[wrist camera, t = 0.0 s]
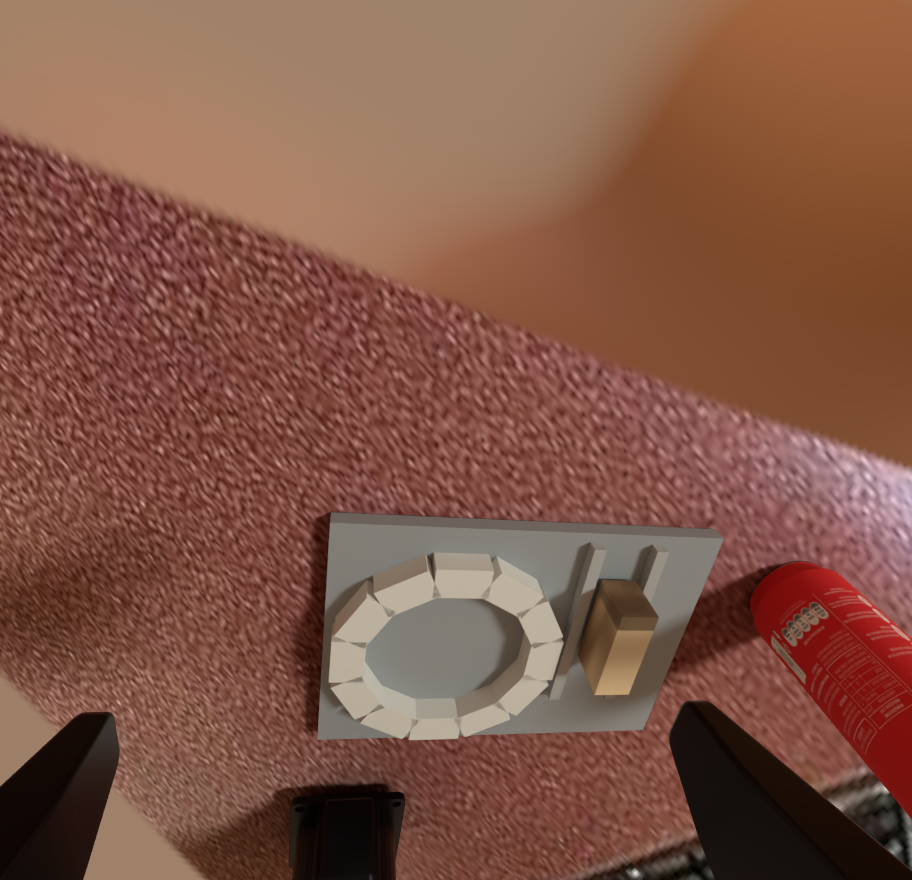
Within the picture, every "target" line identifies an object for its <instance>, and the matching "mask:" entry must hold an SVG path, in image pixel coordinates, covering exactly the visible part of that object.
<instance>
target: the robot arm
mask: <svg viewBox="0 0 912 880" xmlns="http://www.w3.org/2000/svg"><path fill="white" fill-rule="evenodd" d="M669 742H670V747H671V751H672V754H673V757H674V761H675V764H676V767H677V770H678V773H679V777H680V780H681V783H682V786H683V789H684V793H685V796H686V799H687V802H688V805H689V809H690V812H691V815H692V818H693V821H694V825H695V828H696V831H697V834H698V837H699V840H700V842H701V845H702V848H703V850H704V853H705V856H706V858H707V861H708V863H709V866H710V868H711V870H712V873H713V875H714V878H715V880H912V870H911V869H910V868H908V867H907V866H906V865H905V864H904V863H902V862H901V861H900V860H899V859H898V858H896V857H895V856H894V855H893V854H892V853H890V852H889V851H888V850H887V849H886V848H884V847H883V846H882V845H881V844H880V843H878V842H877V841H876V840H875V839H874V838H872V837H871V836H870V835H869V834H868V833H867V832H865V831H864V830H863V829H862V828H861V827H859V826H858V825H857V824H856V823H855V822H853V821H852V820H851V819H850V818H849V817H847V816H846V815H845V814H844V813H843V812H841V811H840V810H839V809H838V808H837V807H835V806H834V805H833V804H832V803H831V802H829V801H828V800H827V799H826V798H825V797H823V796H822V795H821V794H820V793H819V792H817V791H816V790H815V789H814V788H813V787H811V786H810V785H809V784H808V783H807V782H805V781H804V780H803V779H802V778H801V777H799V776H798V775H797V774H796V773H795V772H794V771H792V770H791V769H790V768H789V767H788V766H786V765H785V764H784V763H783V762H782V761H780V760H779V759H778V758H777V757H776V756H774V755H773V754H772V753H771V752H770V751H768V750H767V749H766V748H765V747H764V746H762V745H761V744H760V743H759V742H758V741H756V740H755V739H754V738H753V737H752V736H750V735H749V734H748V733H747V732H746V731H744V730H743V729H742V728H741V727H740V726H738V725H737V724H736V723H735V722H734V721H732V720H731V719H730V718H729V717H728V716H726V715H725V714H724V713H723V712H722V711H721V710H719V709H718V708H717V707H716V706H715V705H713V704H712V703H710V702H708V701H686V702H685V703H683V704H682V706H681V708H680V710H679V713H678V715H677V717H676V719H675V721H674V723H673V726H672V728H671V730H670V735H669ZM119 751H120V750H119V743H118V737H117V731H116V725H115V719H114V716H113V715H112V714H111V713H110V712H85V713H81V714H79V715H77V716H76V717H75V718H73V719H72V720H71V721H70V722H69V723H68V724H67V725H66V726H65V727H64V728H63V729H62V730H60V731H59V732H58V733H57V734H56V735H55V736H54V737H53V738H52V739H51V740H50V741H49V742H48V743H47V744H45V745H44V746H43V747H42V748H41V749H40V750H39V751H38V752H37V753H36V754H35V755H34V756H33V757H31V758H30V759H29V760H28V761H27V762H26V763H25V764H24V765H23V766H22V767H21V768H20V769H19V770H18V771H16V773H14V774H13V775H12V776H11V777H10V778H9V779H8V780H7V781H6V782H5V783H3V785H1V786H0V880H83V878H84V875H85V872H86V868H87V865H88V862H89V859H90V856H91V852H92V849H93V845H94V842H95V839H96V835H97V832H98V829H99V826H100V822H101V819H102V815H103V812H104V809H105V806H106V802H107V799H108V795H109V792H110V789H111V786H112V783H113V779H114V776H115V773H116V769H117V766H118V761H119ZM404 808H405V795H404V794H403V793H401V792H388V793H367V794H347V795H326V796H305V797H297V798H294V799H293V800H292V802H291V809H290V839H289V867H290V868H291V869H293V876H292V880H396V870H395V859H396V855H397V849H398V843H399V837H400V831H401V826H402V820H403V814H404Z"/></svg>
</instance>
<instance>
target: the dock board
mask: <svg viewBox="0 0 912 880" xmlns="http://www.w3.org/2000/svg"><path fill="white" fill-rule="evenodd" d="M723 540H724V538H723V537H722V536H721V535H720V534H719V533H718V532H717V531H716V530H715V529H699V528H677V527H654V526H631V525H608V524H586V523H563V522H540V521H517V520H495V519H472V518H449V517H426V516H404V515H381V514H358V513H335V512H331V518H330V531H329V548H328V565H327V583H326V600H325V617H324V634H323V651H322V669H321V686H320V703H319V720H318V738H317V740H324V739H357V738H390V737H398V738H400V739H403V738H404V737H409V740H430V739H458V735H464V737H467V736H469V735H490V734H523V733H556V732H589V731H623V730H643V728H644V726H645V723H646V721H647V719H648V716H649V714H650V712H651V709H652V707H653V705H654V702H655V700H656V698H657V695H658V693H659V691H660V688H661V686H662V683H663V681H664V679H665V676H666V674H667V672H668V669H669V667H670V665H671V662H672V660H673V658H674V655H675V653H676V650H677V648H678V646H679V643H680V641H681V639H682V636H683V634H684V632H685V629H686V627H687V625H688V622H689V620H690V618H691V615H692V613H693V610H694V608H695V606H696V603H697V601H698V599H699V596H700V594H701V592H702V589H703V587H704V585H705V582H706V580H707V578H708V575H709V573H710V570H711V568H712V566H713V563H714V561H715V559H716V556H717V554H718V552H719V549H720V547H721V545H722V542H723ZM602 580H623V581H636V582H637V584H638V585H639V587H640V588H641V590H642V591H643V593H644V595H645V596H646V598H647V599H648V601H649V602H650V604H651V606H652V607H653V609H654V610H655V612H656V614H657V615H658V617H659V619H658V621H657V624H656V626H655V629H654V632H653V634H652V637H651V639H650V642H649V644H648V647H647V649H646V652H645V654H644V657H643V659H642V662H641V665H640V667H639V670H638V672H637V675H636V677H635V680H634V682H633V685H632V687H631V690H630V693H629V695H594V693H593V690H592V688H591V686H590V683H589V681H588V679H587V676H586V674H585V671H584V669H583V667H582V664H581V662H580V659H579V657H578V652H579V649H580V646H581V643H582V640H583V637H584V633H585V630H586V627H587V624H588V621H589V618H590V615H591V612H592V609H593V606H594V603H595V599H596V596H597V593H598V590H599V587H600V584H601V581H602Z"/></svg>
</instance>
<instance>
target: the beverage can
mask: <svg viewBox="0 0 912 880" xmlns="http://www.w3.org/2000/svg"><path fill="white" fill-rule="evenodd" d="M749 607H750V611H751V613H752V614H753V617H754V622H755V627H756V629H757V631H758V633H759V634H760V635H761V637H762V638H763V639H764V640H765V641H766V643H767V644H768V645H769V646H770V648H771V649H772V650H773V651H774V652H775V654H776V655H777V656H778V657H779V658H780V660H781V661H782V662H783V663H784V665H785V666H786V667H787V668H788V669H789V671H790V672H791V673H792V674H793V675H794V677H795V678H796V679H797V680H798V682H799V683H800V684H801V685H802V686H803V688H804V689H805V690H806V691H807V692H808V694H809V695H810V696H811V697H812V699H813V700H814V701H815V702H816V703H817V705H818V706H819V707H820V708H821V710H822V711H823V712H824V713H825V714H826V716H827V717H828V718H829V719H830V720H831V722H832V723H833V724H834V725H835V727H836V728H837V729H838V730H839V731H840V733H841V734H842V735H843V736H844V737H845V739H846V740H847V741H848V742H849V744H850V745H851V746H852V747H853V748H854V750H855V751H856V752H857V753H858V754H859V756H860V757H861V758H862V759H863V761H864V762H865V763H866V764H867V765H868V767H869V768H870V769H871V770H872V772H873V773H874V774H875V775H876V776H877V778H878V779H879V780H880V781H881V782H882V784H883V785H884V786H885V787H886V789H887V790H888V791H889V792H890V793H891V795H892V796H893V797H894V798H895V799H896V801H897V802H898V803H899V804H900V806H901V807H902V808H903V809H904V810H905V812H906V813H907V814H908V815H909V816H910V818H911V819H912V638H911V637H910V636H908V635H907V634H906V633H905V632H904V631H903V630H902V629H900V628H899V627H898V626H897V625H896V624H895V623H894V622H893V621H891V620H890V619H889V618H888V617H887V616H886V615H885V614H883V613H882V612H881V611H880V610H879V609H878V608H877V607H876V606H874V605H873V604H872V603H871V602H870V601H869V600H868V599H866V598H865V597H864V596H863V595H862V594H861V593H860V592H859V591H857V590H856V589H855V588H854V587H853V586H852V585H851V584H849V583H848V582H847V581H846V580H845V579H844V578H843V577H842V576H840V575H839V574H838V573H836V572H834V571H832V570H829V569H825V568H822V567H819V566H817V565H816V564H814V563H811V562H807V561H796V562H791V563H787V564H784V565H782V566H780V567H777V568H776V569H774V570H772V571H771V572H769V573H768V574H767V575H765V576H764V577H763V578H762V579H761V580H760V581H759V582H758V584H757V585H756V586H755V588H754V590H753V591H752V594H751V596H750V601H749Z"/></svg>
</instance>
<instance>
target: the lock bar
mask: <svg viewBox="0 0 912 880" xmlns="http://www.w3.org/2000/svg"><path fill="white" fill-rule="evenodd" d="M658 619H659V617H658V615H657V614H656V612H655V610H654V609H653V607H652V606H651V604H650V602H649V601H648V599H647V598H646V596H645V595H644V593H643V591H642V590H641V588H640V587H639V585H638V584H637V582H636V581H623V580H602V581H601V584H600V587H599V590H598V593H597V596H596V599H595V603H594V606H593V609H592V612H591V615H590V618H589V621H588V624H587V627H586V630H585V633H584V637H583V640H582V643H581V646H580V649H579V652H578V657H579V659H580V662H581V664H582V667H583V669H584V671H585V674H586V676H587V679H588V681H589V683H590V686H591V688H592V690H593V693H594V695H629V693H630V690H631V687H632V685H633V682H634V680H635V677H636V675H637V672H638V670H639V667H640V665H641V662H642V659H643V657H644V654H645V652H646V649H647V647H648V644H649V642H650V639H651V637H652V634H653V632H654V629H655V626H656V624H657V621H658Z"/></svg>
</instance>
